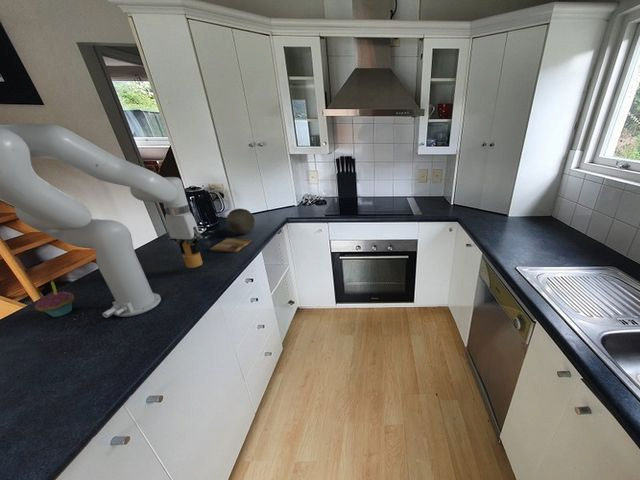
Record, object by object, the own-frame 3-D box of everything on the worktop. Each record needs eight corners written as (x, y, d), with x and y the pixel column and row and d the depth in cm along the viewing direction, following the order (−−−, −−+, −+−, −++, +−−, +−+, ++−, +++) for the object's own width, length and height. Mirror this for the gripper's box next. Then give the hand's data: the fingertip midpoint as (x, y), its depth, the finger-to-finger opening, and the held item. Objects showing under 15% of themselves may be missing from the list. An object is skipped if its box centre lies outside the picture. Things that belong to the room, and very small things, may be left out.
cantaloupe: (227, 234, 157) (220, 208, 150) (252, 228, 165) (247, 204, 159) (234, 241, 147) (227, 214, 141) (261, 235, 156) (255, 209, 149)
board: (235, 252, 135) (235, 250, 134) (209, 250, 136) (209, 248, 136) (251, 241, 147) (251, 239, 147) (227, 240, 149) (227, 237, 148)
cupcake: (78, 302, 97) (60, 273, 92) (81, 311, 92) (63, 281, 87) (41, 313, 91) (21, 283, 86) (43, 324, 86) (21, 293, 81)
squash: (195, 268, 113) (188, 243, 109) (182, 267, 114) (174, 242, 109) (205, 262, 119) (199, 238, 114) (193, 261, 119) (186, 237, 115)
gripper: (150, 211, 104) (165, 255, 111) (190, 213, 102) (202, 257, 110) (166, 206, 111) (179, 248, 118) (204, 208, 109) (215, 250, 116)
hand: (190, 252), depth 114 cm, fingers closed on squash, 4 cm apart
